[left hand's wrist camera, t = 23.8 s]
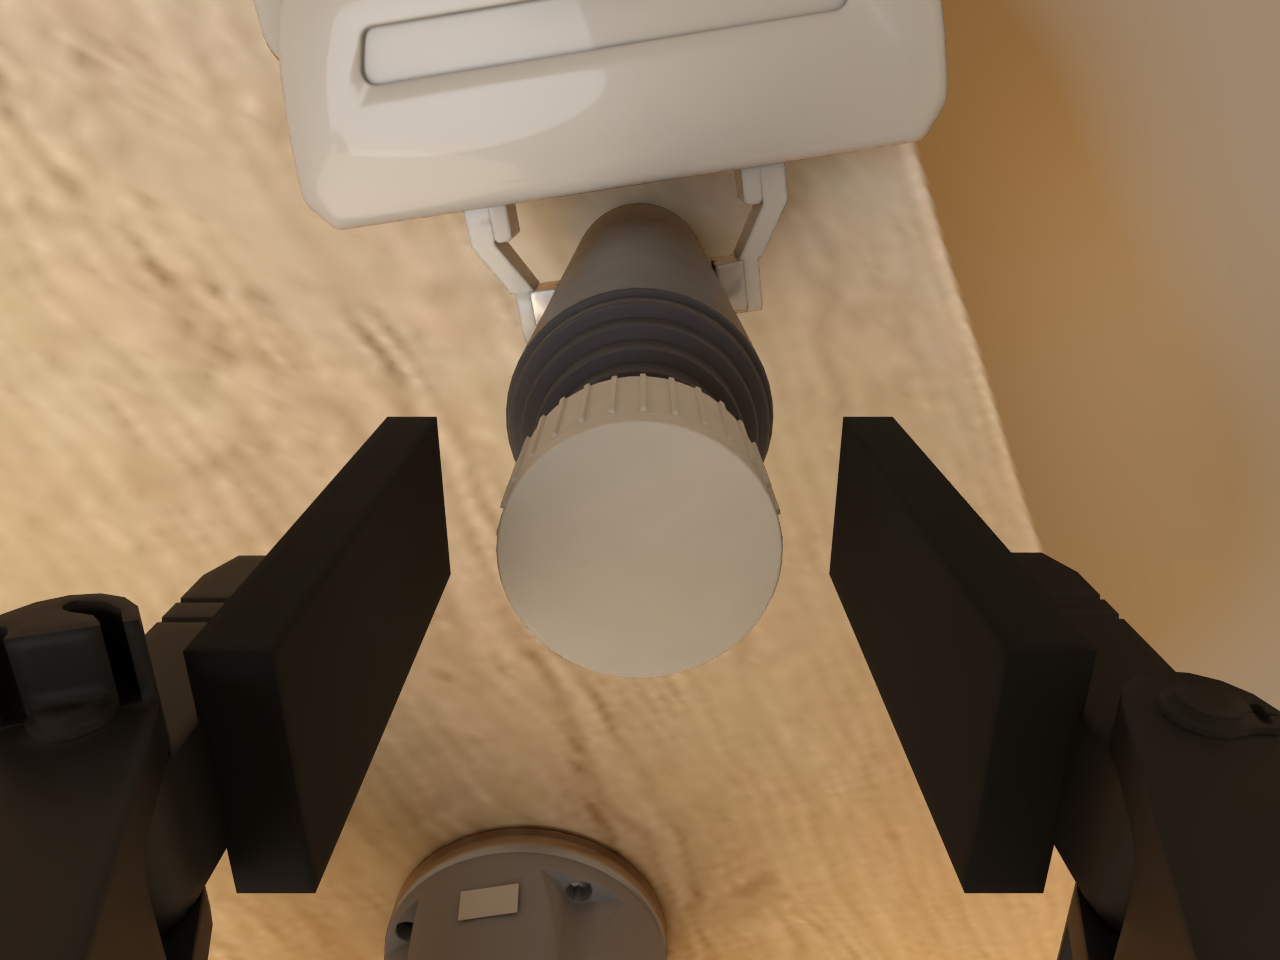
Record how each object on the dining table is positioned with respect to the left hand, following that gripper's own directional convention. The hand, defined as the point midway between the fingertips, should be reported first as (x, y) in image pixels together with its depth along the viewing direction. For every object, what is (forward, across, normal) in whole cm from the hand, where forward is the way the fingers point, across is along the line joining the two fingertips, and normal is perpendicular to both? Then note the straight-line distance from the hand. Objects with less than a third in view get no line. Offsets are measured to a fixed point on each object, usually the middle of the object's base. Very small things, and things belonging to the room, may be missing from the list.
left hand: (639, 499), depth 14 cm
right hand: (+18, 0, -1) cm, 18 cm away
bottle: (+24, 0, 0) cm, 24 cm away
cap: (-2, 0, 0) cm, 2 cm away
